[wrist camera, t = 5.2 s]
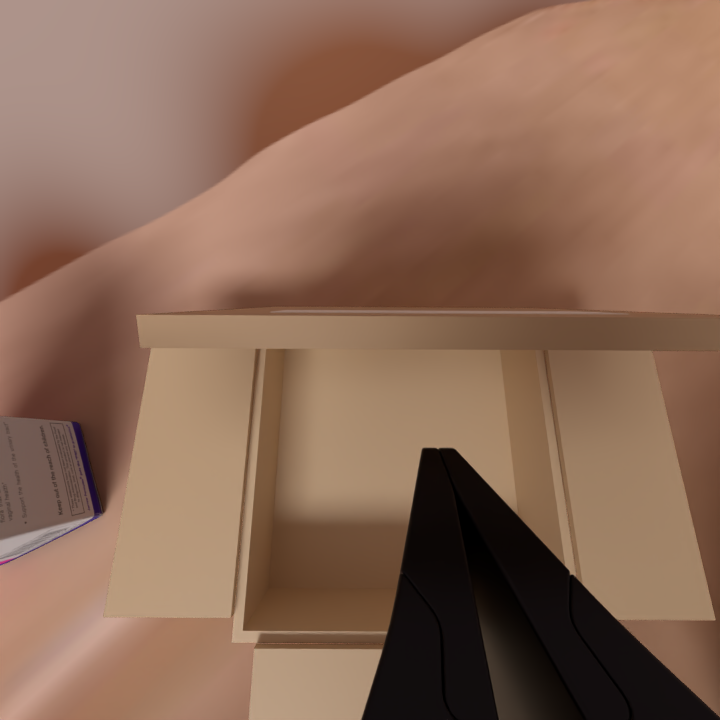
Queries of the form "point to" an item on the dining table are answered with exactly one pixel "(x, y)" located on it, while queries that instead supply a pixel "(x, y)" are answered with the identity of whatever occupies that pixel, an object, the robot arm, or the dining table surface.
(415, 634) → the robot arm
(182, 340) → the flap
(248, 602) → the carton
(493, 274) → the dining table surface
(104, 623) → the dining table surface
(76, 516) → the supplement box
